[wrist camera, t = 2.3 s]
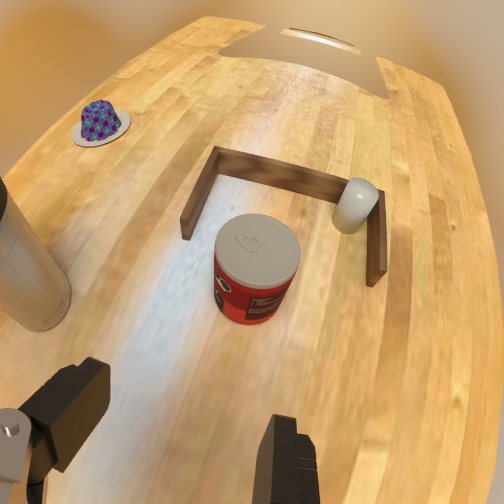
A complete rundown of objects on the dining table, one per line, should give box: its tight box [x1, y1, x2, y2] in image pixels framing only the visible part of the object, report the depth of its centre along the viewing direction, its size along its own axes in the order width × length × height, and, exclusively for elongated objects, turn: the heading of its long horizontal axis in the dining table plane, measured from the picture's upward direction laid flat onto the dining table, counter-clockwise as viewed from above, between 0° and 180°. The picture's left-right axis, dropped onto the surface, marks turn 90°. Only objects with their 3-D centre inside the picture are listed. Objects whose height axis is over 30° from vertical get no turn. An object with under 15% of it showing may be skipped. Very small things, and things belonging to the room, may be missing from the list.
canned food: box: [214, 214, 301, 325], centre depth 34 cm, size 8×8×11 cm
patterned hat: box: [71, 100, 131, 147], centre depth 50 cm, size 12×12×5 cm
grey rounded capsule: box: [332, 178, 379, 234], centre depth 43 cm, size 5×5×7 cm
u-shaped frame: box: [180, 146, 387, 287], centre depth 43 cm, size 26×14×4 cm, turn 77°
